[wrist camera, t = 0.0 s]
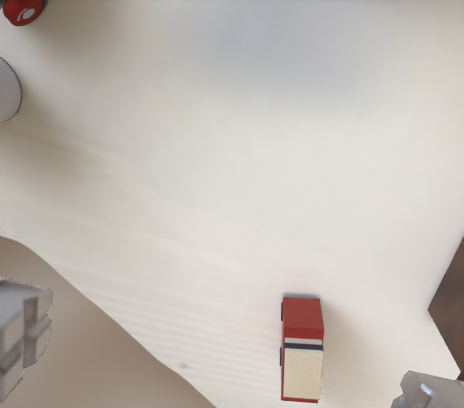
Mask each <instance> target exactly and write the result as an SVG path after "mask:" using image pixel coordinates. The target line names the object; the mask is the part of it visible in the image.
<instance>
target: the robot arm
mask: <svg viewBox="0 0 464 408" xmlns="http://www.w3.org/2000/svg"><path fill="white" fill-rule="evenodd" d="M52 306H53V292H52V291H51V290H50V289H49V288H44V287H41V286H37V285H33V284H28V283H24V282H21V281H17V280H13V279H7V278H4V277H0V403H3V402H4V400H5V399H6V398H7V397H8V396H9V394H10V393H11V392H12V391H13V390H14V388H15V387H16V386H17V385H18V384H19V382H20V381H21V380H22V379H23V369H24V368H27V367H28V366H31V365H33V364H35V363H36V362H37V361H38V359H39V358H40V357H41V356H42V354H43V353H44V351H45V349H46V346H47V345H48V342H49V339H50V335H51V331H52V321H51V319H50V318H49V316H48V314H47V313H46V312H47V311H48V310H49V309H50V308H51V307H52ZM400 385H401V388H402V390H403V393H404V394H402V395H401V396H399V397H398V398H396V399H394V400H393V403H392V405H391V408H464V381H459V380H451V379H446V378H441V377H437V376H432V375H428V374H423V373H419V372H414V371H408V372H407V373H406V374H405V375H404V377H403V379H402V381H401V384H400Z"/></svg>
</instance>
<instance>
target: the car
mask: <svg viewBox="0 0 464 408" xmlns="http://www.w3.org/2000/svg"><path fill="white" fill-rule="evenodd" d="M281 321H282V348H280V366H281V400H283V401H295V402H308V403H318V400H320V390H321V379H322V368H323V356H324V353H323V351H324V350H323V336H324V325H323V318H322V311H321V305H320V299H307V298H287V297H283V302H282V303H281Z"/></svg>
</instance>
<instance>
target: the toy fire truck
mask: <svg viewBox="0 0 464 408" xmlns="http://www.w3.org/2000/svg"><path fill="white" fill-rule="evenodd" d="M4 4H5V5H4ZM3 5H4V7H3ZM2 7H3V13H4V16H5V17H6V18H7V19H8V20H9V21H10V22H11V23H12V24H13V25H15V26H24V25H26V24H28V23H30V22H32V21H33V20H34V19H35V18H36V17H37V16H38V15H39V14H40V13H41V11H42V9H43V2H42V0H0V9H1V8H2Z"/></svg>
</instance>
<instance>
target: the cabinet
mask: <svg viewBox="0 0 464 408" xmlns="http://www.w3.org/2000/svg"><path fill="white" fill-rule="evenodd" d="M428 311H429V313H430V315H431V317H432V319H433V321H434V323H435V324H436V326H437V328H438V330H439V332H440V334H441V336H442V337H443V339H444V341H445V343H446V345H447V347H448V349H449V350H450V352H451V354H452V356H453V358H454V360H455V362H456V363H457V365H458V367H459V369H460V371H461V373H460V374H459V376H458V378H457V379H456V380H459V381H464V238H463V240H462V242H461V244H460V246H459V248H458V250H457V252H456V254H455V256H454V258H453V260H452V262H451V264H450V266H449V268H448V270H447V272H446V274H445V276H444V278H443V280H442V282H441V284H440V286H439V288H438V290H437V292H436V294H435V296H434V298H433V300H432V302H431V304H430V306H429V308H428Z"/></svg>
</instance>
